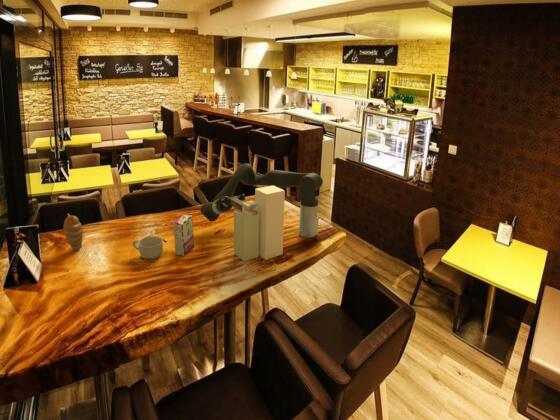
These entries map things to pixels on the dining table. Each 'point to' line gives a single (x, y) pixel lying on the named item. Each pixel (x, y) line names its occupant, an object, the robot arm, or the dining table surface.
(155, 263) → the dining table surface
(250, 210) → the handle
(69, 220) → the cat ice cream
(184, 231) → the candy bar box
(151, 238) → the teacup
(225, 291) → the dining table surface
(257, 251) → the grey green tall block
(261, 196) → the tall stand
